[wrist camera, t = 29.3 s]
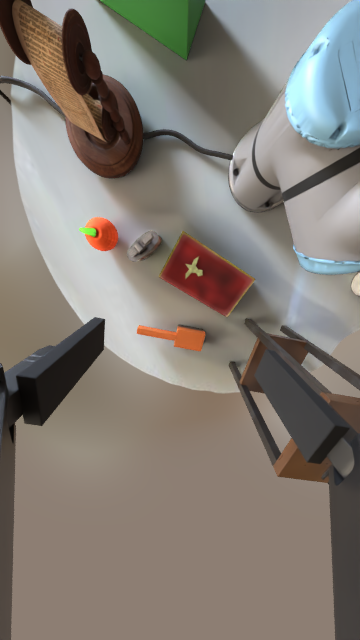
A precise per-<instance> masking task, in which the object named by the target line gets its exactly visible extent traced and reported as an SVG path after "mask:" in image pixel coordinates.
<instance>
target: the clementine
mask: <svg viewBox="0 0 360 640" xmlns="http://www.w3.org/2000/svg"><path fill="white" fill-rule="evenodd" d="M79 231H81V232H83V233H85V236H86V239H87V240H88V242H89V243H90V244H91V246H92V247H94V248H95V249H98V250H101V251H108V250H111V249H113V248H114V247H115V246H116V244H117V241H118V233H117V230H116V228H115V226H114V225H113V224H112V223H111V222H110V221H108V220H107V219H104V218H100V217H96V218H92V219H91V220H89V221H88V223H87V224H86V226H85V228H80V229H79Z"/></svg>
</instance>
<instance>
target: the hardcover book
mask: <svg viewBox="0 0 360 640" xmlns="http://www.w3.org/2000/svg"><path fill="white" fill-rule="evenodd" d="M159 277H160V278H161V279H163V280H165V281H166V282H168V283H170V284H171V285H173V286H175V287H177V288H178V289H180V290H182V291H183V292H185V293H187V294H188V295H190V296H192V297H194V298H195V299H197V300H199V301H200V302H202V303H204V304H205V305H207V306H209V307H210V308H212V309H214V310H216V311H217V312H219V313H221V314H222V315H224V316H226V317H228V316H229V314H230V313H231V312H232V310H233V309H234V308H235V306H236V305H237V303H238V302H239V301H240V299H241V298H242V297H243V295H244V294H245V293H246V291H247V290H248V289H249V287H250V286H251V285H252V283H253V282H254V280H255V279H254V278H253V277H251V276H250V275H248V274H247V273H245V272H244V271H242V270H241V269H239V268H238V267H236V266H235V265H233V264H232V263H230V262H229V261H227V260H226V259H224V258H223V257H221V256H220V255H218V254H217V253H215V252H214V251H212V250H211V249H209V248H208V247H206V246H205V245H203V244H202V243H200V242H199V241H197V240H196V239H194V238H193V237H191V236H190V235H188V234H187V233H185V232H184V231H183V232H182V233H181V235H180V237H179V239H178V241H177V243H176V245H175V247H174V248H173V250H172V252H171V254H170V256H169V258H168V260H167V262H166V264H165V265H164V267H163V269H162V271H161V273H160V275H159Z"/></svg>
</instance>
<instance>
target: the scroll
mask: <svg viewBox="0 0 360 640" xmlns="http://www.w3.org/2000/svg"><path fill="white" fill-rule="evenodd" d="M0 27H1V29H2V32H3V34H4V36H5V38H6V40H7V42H8V44H9V46H10V47H11V49H12V51H13V52H14V53H15V55H16V56H17V57H18V58H19V59H20V60H21V61H22V62H24V63H26V64H29V65H32V66H33V68H34V70H35V71H36V73H37V75H38V76H39V78H40V79H41V81H42V83H43V84H44V86H45V87H46V89H47V90H48V92H49V93H50V95H51V96H52V98H53V99H54V100H55V102H56V103H57V105H58V106H59V107H60V109H61V110H62V111H63V113H64V114H65V116H66V128H67V133H68V137H69V140H70V143H71V145H72V147H73V149H74V151H75V153H76V155H77V156H78V158H79V159H80V160H81V161H82V163H83V164H84V165H85V166H87V167H88V168H89V169H90V170H91V171H92V172H94V173H95V174H97V175H99V176H102V177H105V178H119V177H122V176H125V175H126V174H127V173H129V172H130V171H131V170H132V169H133V168H134V166H135V165H136V164H137V162H138V160H139V157H140V155H141V151H142V147H143V126H142V121H141V117H140V114H139V111H138V108H137V106H136V103H135V101H134V100H133V98H132V96H131V95H130V93H129V92H128V91H127V89H126V88H125V87H124V86H123V85H122V84H121V83H119V82H118V81H117V80H115V79H114V78H112V77H109V76H107V75H103V74H102V71H101V68H100V63H99V60H98V59H97V57H96V55H95V54H94V53H93V52H92V49H91V43H90V39H89V35H88V31H87V28H86V25H85V23H84V21H83V19H82V17H81V15H80V14H79V13H78V12H77V11H76V10H75V9H69V10H68V11H67V12H66V14H65V16H64V19H63V24H62V26H61V25H59V24H58V23H56V22H54V21H53V20H51V19H50V18H48V17H46V16H45V15H43V14H42V13H40V12H39V11H37V10H35V9H34V8H33V6H32V3H31V1H30V0H0Z"/></svg>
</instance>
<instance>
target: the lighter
mask: <svg viewBox="0 0 360 640" xmlns="http://www.w3.org/2000/svg"><path fill="white" fill-rule="evenodd" d="M161 243H162V239H161V237H160V236H159V235H157V233H156V232H155V231H148V232H147V233H145V234H143V235H142V236H141V237H140V238H138V239H137V240H136V241H135V242H134V243H133V244H132V246H131V247H130V248H129V250H128V251H127V257H128V258H129V260H131V261H134V262H135V261H138V260H140V261H142V260H144V259H146V258H148V257H149V256H150V255H152V254H153V253H154V252H155V251H156V250H157V249H158V247H159V246H160V245H161Z"/></svg>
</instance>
